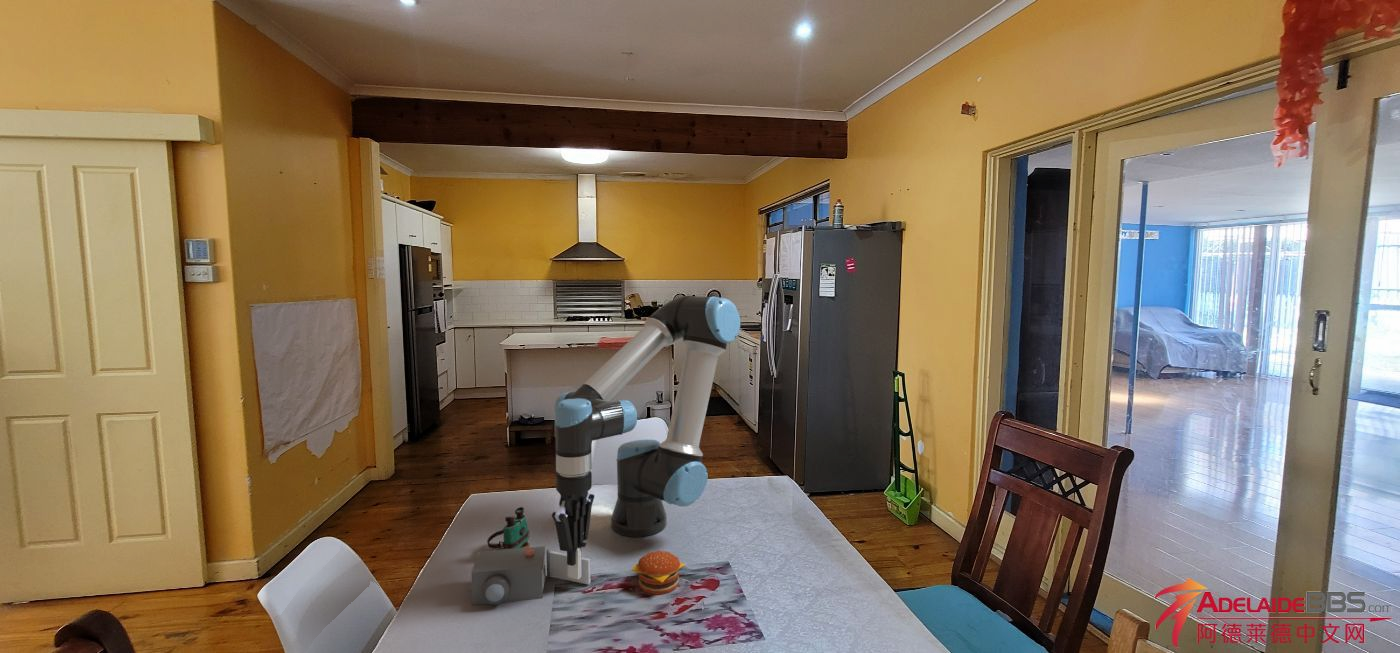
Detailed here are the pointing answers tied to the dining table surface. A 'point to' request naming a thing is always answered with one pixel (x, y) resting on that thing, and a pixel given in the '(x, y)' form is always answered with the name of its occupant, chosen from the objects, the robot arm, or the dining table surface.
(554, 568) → the side door
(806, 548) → the dining table surface
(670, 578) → the hamburger
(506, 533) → the binoculars
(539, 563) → the camera body
